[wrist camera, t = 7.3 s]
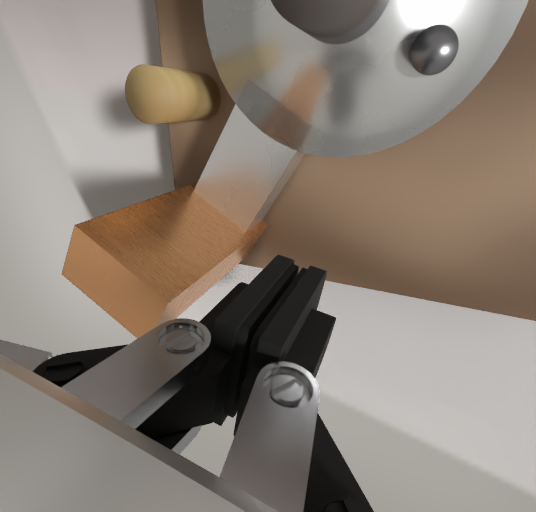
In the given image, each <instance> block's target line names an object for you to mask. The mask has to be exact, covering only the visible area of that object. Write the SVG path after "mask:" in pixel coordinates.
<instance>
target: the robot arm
mask: <svg viewBox="0 0 536 512" xmlns="http://www.w3.org/2000/svg"><path fill="white" fill-rule="evenodd" d="M294 262H295V261H294V260H293V259H290V258H287V257H284V256H282V255H277V256H276V257H275V258H274V259H273V260H272V261H271V262H270V263H269V264H268V265H267V266H266V267H265V268H264V269H263V270H262V271H261V272H260V273H259V274H258V275H257V276H256V277H255V278H254V279H253V280H252V281H251V283H250V284H249V285H248V284H246V283H243V282H241V283H239V284H238V285H237V286H236V287H235V288H234V289H233V290H232V291H231V292H230V293H229V294H228V295H226V296H225V297H224V298H223V299H222V300H221V301H220V302H219V303H218V304H217V305H216V306H215V307H214V308H213V309H212V310H211V311H210V312H209V313H208V314H207V315H206V316H205V317H204V318H203V319H202V320H201V321H200V322H197V321H195V320H191V319H173V320H169V321H166V322H164V323H162V324H160V325H159V326H157V327H155V328H154V329H152V330H151V331H149V332H148V333H146V334H144V335H143V336H141V337H140V338H138V339H137V340H135V341H133V342H132V343H130V344H129V345H122V346H115V347H107V348H101V349H93V350H86V351H79V352H72V353H66V354H62V355H57V356H55V357H53V356H52V353H51V352H47V351H43V350H39V349H35V348H31V347H27V346H23V345H19V344H15V343H11V342H7V341H3V340H0V512H374V511H373V509H372V508H371V506H370V504H369V502H368V501H367V499H366V497H365V495H364V494H363V492H362V490H361V488H360V487H359V485H358V483H357V481H356V479H355V478H354V476H353V474H352V473H351V471H350V469H349V467H348V465H347V464H346V462H345V460H344V458H343V457H342V455H341V453H340V451H339V450H338V448H337V446H336V444H335V442H334V441H333V439H332V437H331V436H330V434H329V432H328V430H327V429H326V427H325V425H324V423H323V421H322V420H321V418H320V416H319V414H318V413H317V412H318V405H319V398H320V389H319V386H318V383H317V381H316V379H315V377H316V375H317V372H318V370H319V367H320V364H321V362H322V359H323V357H324V354H325V351H326V348H327V345H328V342H329V339H330V336H331V333H332V330H333V327H334V324H335V321H336V317H333V316H330V315H328V314H325V313H322V312H320V311H317V307H318V303H319V300H320V296H321V293H322V289H323V286H324V282H325V279H326V275H327V271H326V270H323V269H320V268H317V267H314V266H311V265H310V266H309V268H308V269H306V268H302V269H301V270H300V272H299V273H298V271H299V266H297V265H294ZM237 411H238V412H237ZM236 413H237V418H236V423H235V429H234V440H233V443H232V445H231V448H230V450H229V453H228V456H227V458H226V461H225V464H224V467H223V469H222V472H221V474H220V477H217V476H216V475H214V474H212V473H210V472H209V471H207V470H205V469H204V468H202V467H200V466H198V465H196V464H195V463H193V462H191V461H189V460H188V459H186V458H184V457H183V456H181V455H179V454H180V453H181V452H182V451H183V450H184V449H185V448H186V447H187V446H188V444H189V443H190V442H191V441H192V440H193V439H194V438H195V437H196V435H197V434H198V432H199V431H200V429H201V426H202V425H206V424H209V423H212V422H214V423H216V424H218V425H220V426H221V425H222V424H223V422H224V420H225V419H226V417H227V416H230V417H234V416H235V415H236Z"/></svg>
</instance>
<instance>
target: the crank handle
mask: <svg viewBox="0 0 536 512" xmlns="http://www.w3.org/2000/svg"><path fill="white" fill-rule="evenodd" d="M527 3H528V0H389V2H388V4H387V6H386V8H385V10H384V12H383V14H382V15H381V17H380V18H379V20H378V21H377V22H376V23H375V24H374V26H373V27H372V28H370V29H369V30H368V31H367V32H366V33H365V34H363V35H362V36H360V37H359V38H357V39H355V40H353V41H351V42H348V43H344V44H327V43H323V42H320V41H318V40H316V39H315V38H313V37H311V36H310V35H308V34H307V33H305V32H304V31H302V30H300V29H299V28H297V27H296V26H294V25H292V24H291V23H289V22H288V21H287V20H285V19H284V18H283V17H282V16H281V15H280V14H279V13H278V12H277V10H276V9H275V7H274V6H273V4H272V2H271V0H203V12H204V22H205V28H206V33H207V39H208V43H209V47H210V50H211V54H212V57H213V61H214V63H215V66H216V68H217V71H218V73H219V76H220V78H221V80H222V82H223V84H224V86H225V88H226V89H227V91H228V93H229V95H230V96H231V98H232V99H233V101H234V102H235V103H236V104H235V106H234V108H233V110H232V112H231V115H230V117H229V119H228V121H227V123H226V125H225V127H224V129H223V131H222V133H221V135H220V137H219V139H218V141H217V144H216V146H215V148H214V150H213V152H212V154H211V156H210V158H209V160H208V162H207V164H206V166H205V168H204V170H203V173H202V175H201V177H200V179H199V181H198V183H195V184H192V185H189V186H186V187H183V188H180V189H177V190H175V191H172V192H169V193H166V194H163V195H160V196H157V197H154V198H151V199H149V200H146V201H143V202H140V203H137V204H134V205H131V206H128V207H126V208H123V209H120V210H117V211H114V212H111V213H108V214H105V215H103V216H100V217H97V218H94V219H91V220H88V221H85V222H83V223H80V224H77V225H75V227H74V229H73V233H72V237H71V241H70V245H69V249H68V252H67V256H66V260H65V263H64V267H63V271H62V275H63V276H64V277H66V278H67V279H68V280H69V281H70V282H72V283H73V284H74V285H75V286H76V287H77V288H79V289H80V290H81V291H82V292H83V293H84V294H86V295H87V296H88V297H89V298H90V299H92V300H93V301H94V302H95V303H96V304H97V305H99V306H100V307H101V308H102V309H103V310H104V311H106V312H107V313H108V314H109V315H110V316H112V317H113V318H114V319H115V320H116V321H118V322H119V323H120V324H121V325H122V326H123V327H124V328H126V329H127V330H128V331H129V332H130V333H132V334H133V335H134V336H135V337H136V338H137V339H138V338H140V337H141V336H143V335H144V334H146V333H148V332H149V331H151V330H152V329H154V328H155V327H157V326H159V325H160V324H162V323H164V322H166V321H169V320H173V319H176V318H177V317H178V316H179V315H180V314H181V313H182V312H184V311H185V310H186V309H187V308H188V307H189V306H191V305H192V304H193V303H194V302H195V301H196V300H197V299H199V298H200V297H201V296H202V295H203V294H204V293H205V292H207V291H208V290H209V289H210V288H211V287H212V286H213V285H215V284H216V283H217V282H218V281H219V280H220V279H221V278H223V277H224V276H225V275H226V274H227V273H228V272H230V271H231V270H232V269H233V268H234V267H235V266H236V265H238V264H239V263H240V262H241V261H242V260H243V259H244V258H246V257H247V255H248V254H249V252H250V251H251V249H252V248H253V246H254V245H255V243H256V242H257V241H258V239H259V238H260V236H261V235H262V233H263V232H264V230H265V229H266V227H267V226H268V224H266V223H265V222H264V221H262V220H263V218H264V216H265V215H266V213H267V212H268V210H269V209H270V207H271V206H272V204H273V203H274V201H275V200H276V198H277V197H278V195H279V194H280V192H281V191H282V189H283V187H284V186H285V184H286V183H287V181H288V180H289V178H290V177H291V175H292V174H293V172H294V171H295V169H296V168H297V166H298V165H299V163H300V162H301V160H302V158H303V157H304V155H305V154H311V155H317V156H323V157H352V156H362V155H366V154H370V153H374V152H378V151H382V150H385V149H387V148H390V147H393V146H395V145H398V144H401V143H403V142H405V141H406V140H408V139H410V138H412V137H414V136H416V135H418V134H420V133H422V132H423V131H425V130H426V129H428V128H429V127H431V126H432V125H434V124H435V123H437V122H438V121H439V120H441V119H442V118H443V117H444V116H446V115H447V114H448V113H449V112H450V111H452V110H453V109H454V108H455V107H456V106H457V105H459V104H460V103H461V102H462V101H463V100H464V99H465V98H466V97H467V95H468V94H469V93H470V92H471V91H472V90H473V89H474V88H475V87H476V86H477V85H478V84H479V83H480V81H481V80H482V79H483V78H484V76H485V75H486V74H487V72H488V71H489V70H490V69H491V67H492V66H493V65H494V63H495V62H496V61H497V59H498V58H499V56H500V54H501V53H502V51H503V49H504V48H505V46H506V45H507V43H508V41H509V40H510V38H511V37H512V35H513V33H514V31H515V29H516V27H517V25H518V23H519V20H520V18H521V16H522V14H523V12H524V10H525V8H526V6H527Z"/></svg>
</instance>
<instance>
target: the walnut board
mask: <svg viewBox="0 0 536 512" xmlns="http://www.w3.org/2000/svg"><path fill="white" fill-rule="evenodd" d="M271 2H272V4H273V6H274V7H275V9H276V10H277V12H278V13H279V14H280V15H281V16H282V17H283V18H284V19H285V20H287V21H288V22H289V23H291V24H292V25H294V26H296V27H297V28H299V29H300V30H302V31H304V32H305V33H307V34H308V35H310V36H311V37H313V38H315V39H316V40H318V41H320V42H323V43H327V44H344V43H348V42H351V41H353V40H355V39H357V38H359V37H360V36H362V35H363V34H365V33H366V32H367V31H368V30H369V29H370V28H372V27H373V26H374V24H375V23H376V22H377V21H378V20H379V18H380V17H381V15H382V14H383V12H384V10H385V8H386V6H387V4H388V2H389V0H271ZM156 8H157V18H158V28H159V37H160V47H161V57H162V67H159V66H152V65H144V64H142V65H138V66H136V67H134V68H133V69H132V70H131V71H130V73H129V74H128V77H127V80H126V84H125V94H126V99H127V103H128V105H129V108H130V110H131V111H132V113H133V114H134V115H135V116H136V117H137V118H138V119H139V120H140V121H142V122H144V123H147V124H158V123H168V125H169V135H170V145H171V155H172V165H173V174H174V184H175V190H177V189H180V188H183V187H186V186H189V185H192V184H195V183H198V181H199V179H200V177H201V175H202V173H203V170H204V168H205V166H206V164H207V162H208V160H209V158H210V156H211V154H212V152H213V150H214V148H215V146H216V144H217V141H218V139H219V137H220V135H221V133H222V131H223V129H224V127H225V125H226V123H227V121H228V119H229V117H230V115H231V112H232V110H233V108H234V106H235V104H236V103H235V102H234V101H233V99H232V98H231V96H230V95H229V93H228V91H227V89H226V88H225V86H224V84H223V82H222V80H221V78H220V76H219V73H218V71H217V68H216V66H215V63H214V61H213V57H212V54H211V50H210V47H209V43H208V39H207V33H206V28H205V22H204V12H203V0H156ZM262 221H264V222H265V223H266V224H268V226H267V227H266V229H265V230H264V232H263V233H262V235H261V236H260V238H259V239H258V241H257V242H256V243H255V245H254V246H253V248H252V249H251V251H250V252H249V254H248V255H247V257H246V258H244V259H243V260H242V261H241V262H240V263H239V264H244V265H249V266H254V267H259V268H265V267H266V266H267V265H268V264H269V263H270V262H271V261H272V260H273V259H274V258H275V257H276V256H277V255H282V256H284V257H287V258H290V259H293V260H294V261H295V262H294V265H297V266H299V271H298V273H299V272H300V270H301V269H302V268H306V269H308V268H309V266H310V265H311V266H314V267H317V268H320V269H323V270H326V271H327V275H326V279H325V280H327V281H332V282H337V283H342V284H347V285H352V286H358V287H363V288H368V289H373V290H378V291H384V292H389V293H394V294H399V295H404V296H410V297H415V298H420V299H425V300H430V301H435V302H441V303H446V304H451V305H456V306H461V307H467V308H472V309H477V310H482V311H487V312H493V313H498V314H503V315H508V316H513V317H518V318H524V319H529V320H534V321H536V0H528V3H527V6H526V8H525V10H524V12H523V14H522V16H521V18H520V20H519V23H518V25H517V27H516V29H515V31H514V33H513V35H512V37H511V38H510V40H509V41H508V43H507V45H506V46H505V48H504V49H503V51H502V53H501V54H500V56H499V58H498V59H497V61H496V62H495V63H494V65H493V66H492V67H491V69H490V70H489V71H488V72H487V74H486V75H485V76H484V78H483V79H482V80H481V81H480V83H479V84H478V85H477V86H476V87H475V88H474V89H473V90H472V91H471V92H470V93H469V94H468V95H467V97H466V98H465V99H464V100H463V101H462V102H461V103H460V104H459V105H457V106H456V107H455V108H454V109H453V110H452V111H450V112H449V113H448V114H447V115H446V116H444V117H443V118H442V119H441V120H439V121H438V122H437V123H435V124H434V125H432V126H431V127H429V128H428V129H426V130H425V131H423V132H422V133H420V134H418V135H416V136H414V137H412V138H410V139H408V140H406V141H405V142H403V143H401V144H398V145H395V146H393V147H390V148H387V149H385V150H382V151H378V152H374V153H370V154H366V155H362V156H352V157H323V156H317V155H311V154H305V155H304V157H303V158H302V160H301V162H300V163H299V165H298V166H297V168H296V169H295V171H294V172H293V174H292V175H291V177H290V178H289V180H288V181H287V183H286V184H285V186H284V187H283V189H282V191H281V192H280V194H279V195H278V197H277V198H276V200H275V201H274V203H273V204H272V206H271V207H270V209H269V210H268V212H267V213H266V215H265V216H264V218H263V220H262Z"/></svg>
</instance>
